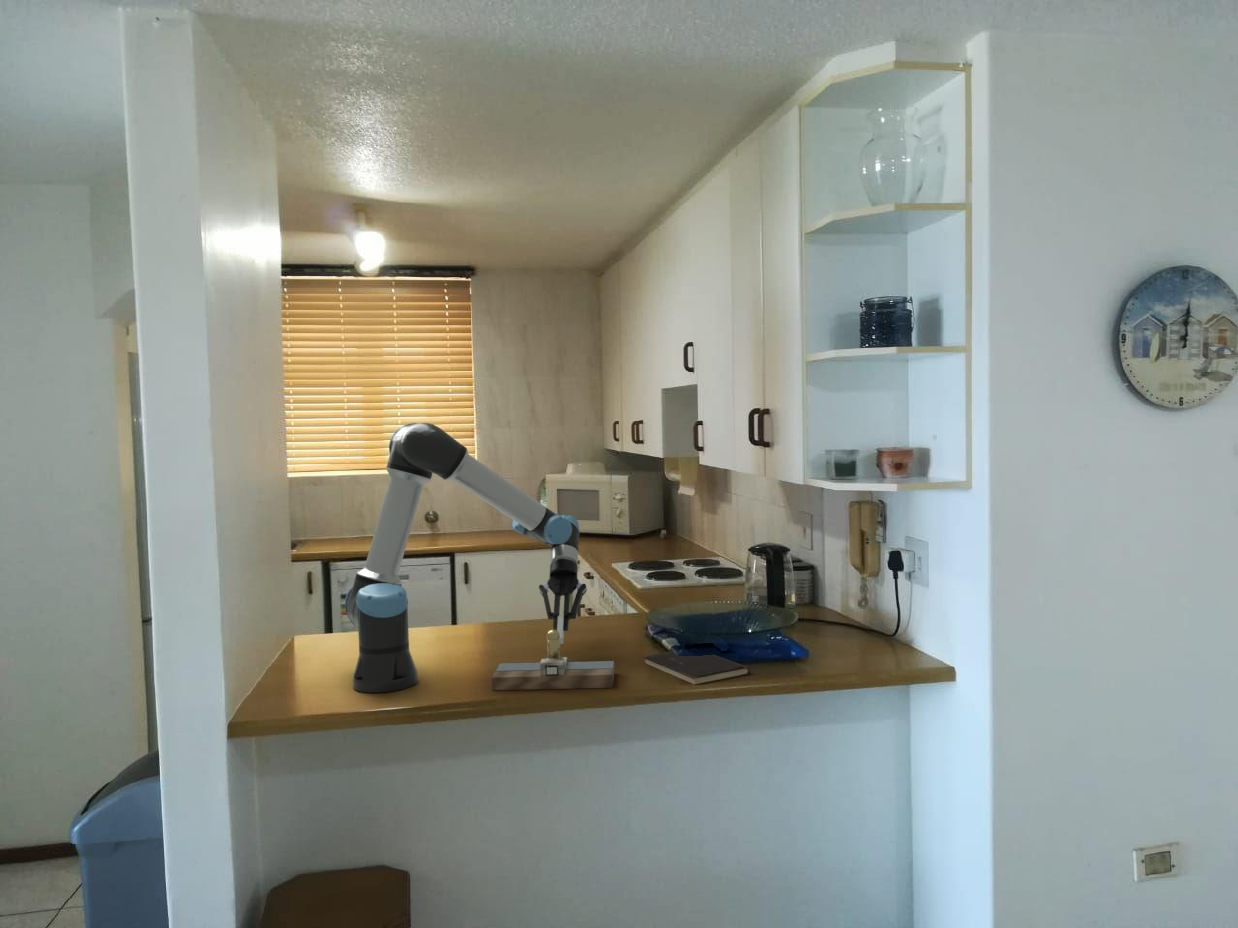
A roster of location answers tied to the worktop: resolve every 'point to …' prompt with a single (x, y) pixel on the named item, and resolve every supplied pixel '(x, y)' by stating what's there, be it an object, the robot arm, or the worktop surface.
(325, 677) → the worktop surface
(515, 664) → the latch base plate
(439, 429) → the robot arm
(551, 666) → the bolt
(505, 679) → the block
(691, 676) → the hardcover book
